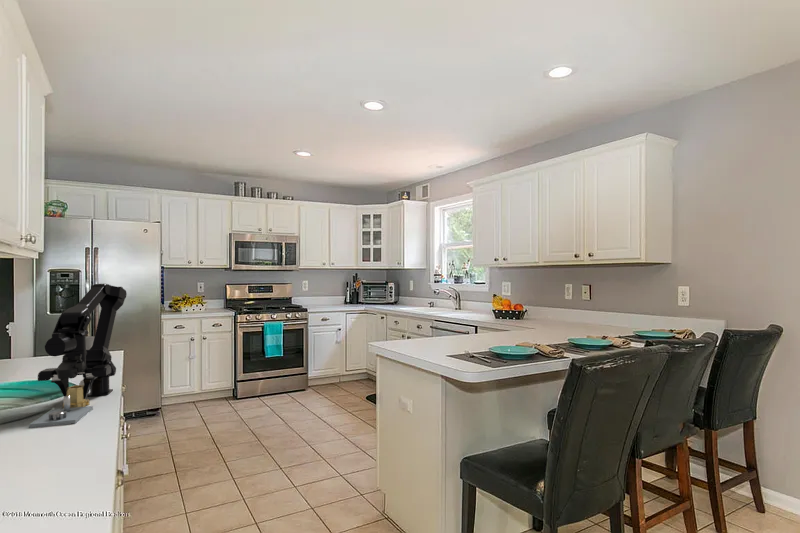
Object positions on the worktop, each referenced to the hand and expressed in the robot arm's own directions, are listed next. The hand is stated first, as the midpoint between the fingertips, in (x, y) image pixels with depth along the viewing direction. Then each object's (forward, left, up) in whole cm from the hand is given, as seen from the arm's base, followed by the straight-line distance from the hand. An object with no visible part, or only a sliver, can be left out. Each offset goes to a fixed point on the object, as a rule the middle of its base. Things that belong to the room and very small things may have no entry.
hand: (76, 399), depth 151 cm
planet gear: (0, 0, -2) cm, 2 cm away
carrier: (+13, +1, -2) cm, 13 cm away
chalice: (-29, -7, -2) cm, 30 cm away
